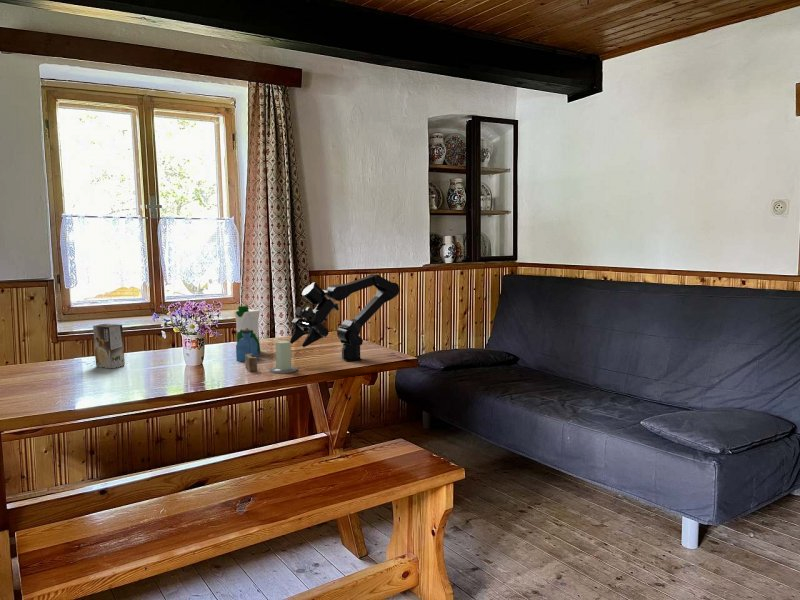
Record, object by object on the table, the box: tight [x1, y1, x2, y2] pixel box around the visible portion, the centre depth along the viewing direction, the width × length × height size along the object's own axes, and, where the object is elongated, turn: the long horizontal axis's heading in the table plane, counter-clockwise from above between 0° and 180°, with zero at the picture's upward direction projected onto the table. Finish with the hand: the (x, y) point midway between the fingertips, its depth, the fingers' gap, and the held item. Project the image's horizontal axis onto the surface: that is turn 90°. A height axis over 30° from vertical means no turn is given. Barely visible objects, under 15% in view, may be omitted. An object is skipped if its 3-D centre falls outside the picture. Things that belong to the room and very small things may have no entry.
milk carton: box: [233, 305, 261, 353], centre depth 258 cm, size 9×9×20 cm
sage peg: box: [275, 340, 292, 370], centre depth 226 cm, size 4×4×10 cm
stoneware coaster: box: [269, 365, 298, 374], centre depth 226 cm, size 10×10×1 cm
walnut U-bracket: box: [244, 354, 258, 373], centre depth 228 cm, size 3×9×5 cm, turn 24°
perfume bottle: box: [235, 329, 259, 362], centre depth 245 cm, size 6×6×12 cm
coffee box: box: [92, 323, 126, 369], centre depth 234 cm, size 9×6×16 cm
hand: (296, 344), depth 229 cm, fingers open, 9 cm apart
